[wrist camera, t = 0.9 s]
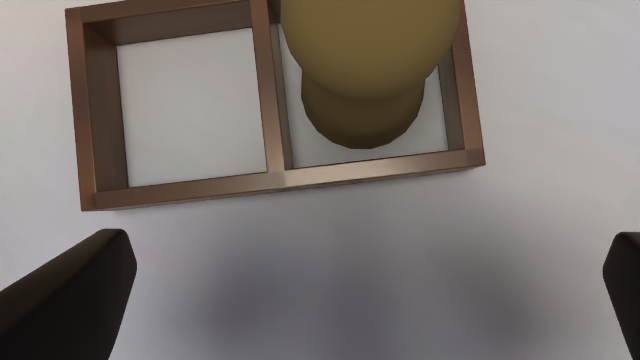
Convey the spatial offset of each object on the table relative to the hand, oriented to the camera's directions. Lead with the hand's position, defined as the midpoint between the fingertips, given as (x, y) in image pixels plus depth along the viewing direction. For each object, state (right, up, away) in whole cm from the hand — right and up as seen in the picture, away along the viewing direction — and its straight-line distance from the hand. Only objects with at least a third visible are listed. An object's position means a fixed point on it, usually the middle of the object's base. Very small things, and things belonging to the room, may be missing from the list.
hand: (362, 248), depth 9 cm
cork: (+1, +6, +14) cm, 16 cm away
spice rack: (-3, +5, +15) cm, 16 cm away
